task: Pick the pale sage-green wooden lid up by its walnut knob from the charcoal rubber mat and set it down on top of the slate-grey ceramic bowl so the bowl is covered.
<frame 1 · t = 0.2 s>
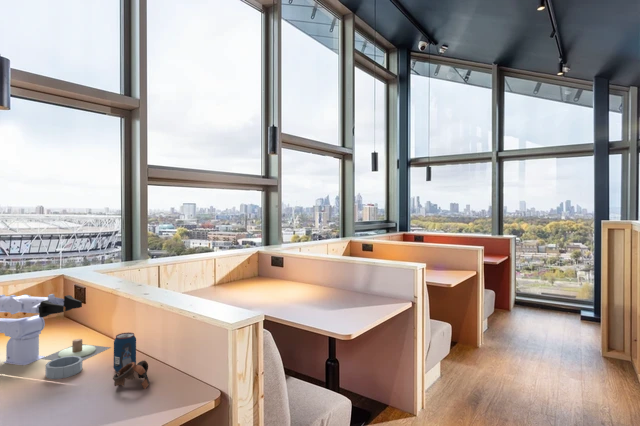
hand: (72, 306, 133), 21 cm above the table, tool horizontal, fingers open, 7 cm apart
lid: (77, 352, 144), resting on mat
mat: (77, 354, 144), on the table
soda can: (124, 370, 132), on the table
bowl: (64, 373, 128), on the table
brown lumpy object: (134, 385, 120), on the table
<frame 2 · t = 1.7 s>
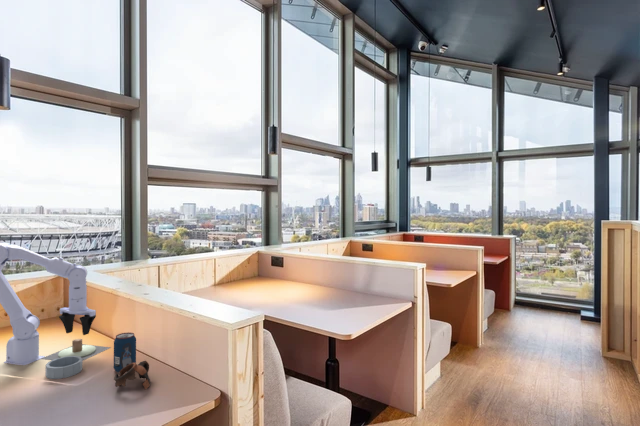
hand: (77, 333, 144), 8 cm above the table, tool pointing down, fingers open, 7 cm apart
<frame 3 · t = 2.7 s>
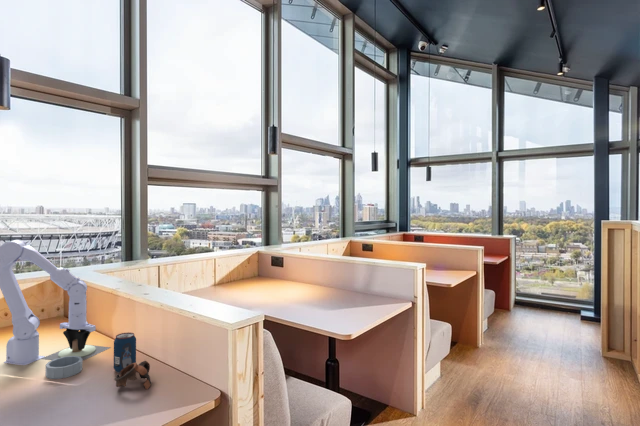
hand: (77, 348, 144), 2 cm above the table, tool pointing down, fingers closed on lid, 3 cm apart
lid: (77, 352, 144), resting on mat, touching gripper
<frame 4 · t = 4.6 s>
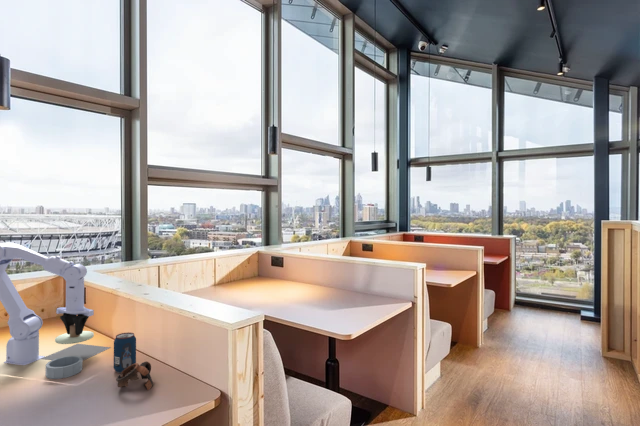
hand: (74, 333, 140), 9 cm above the table, tool pointing down, fingers closed on lid, 3 cm apart
lid: (74, 338, 140), point 7 cm above the table, touching gripper
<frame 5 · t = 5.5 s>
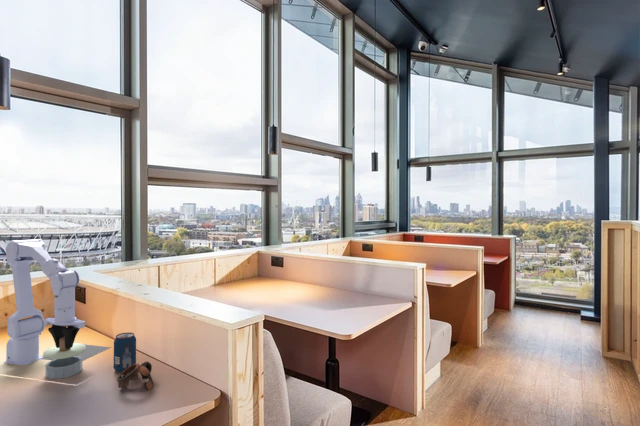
hand: (64, 347, 127), 9 cm above the table, tool pointing down, fingers closed on lid, 3 cm apart
lid: (65, 352, 128), point 7 cm above the table, touching gripper
when the fingers open (7 cm above the table, at t = 6.1 s): lid drops 1 cm, resting on bowl.
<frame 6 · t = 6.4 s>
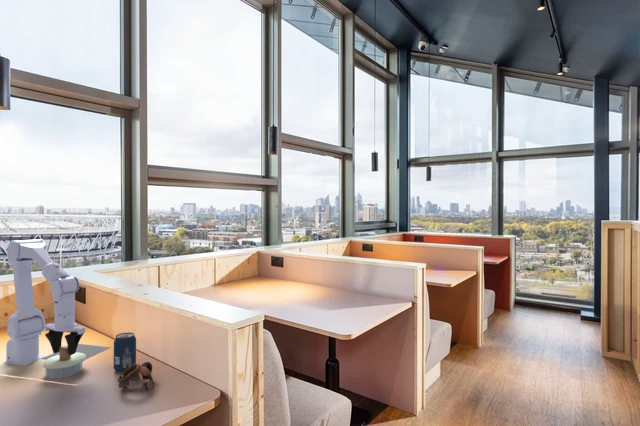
hand: (64, 353, 127), 7 cm above the table, tool pointing down, fingers open, 6 cm apart
lid: (65, 361, 128), point 4 cm above the table, touching bowl
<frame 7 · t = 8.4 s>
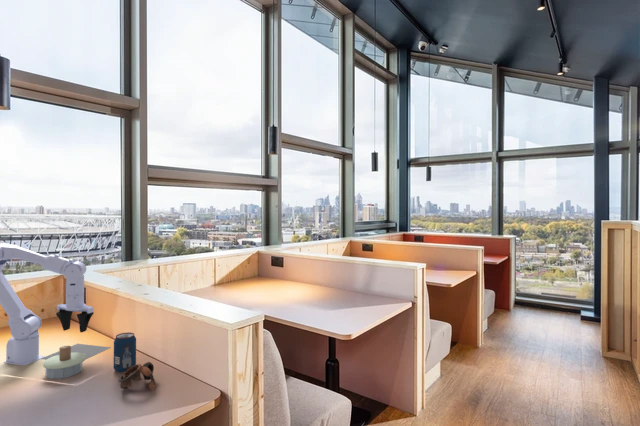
hand: (74, 330, 142), 10 cm above the table, tool pointing down, fingers open, 7 cm apart
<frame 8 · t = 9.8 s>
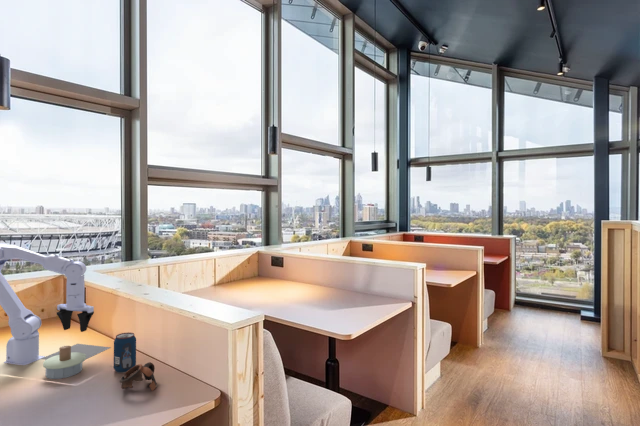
hand: (75, 330, 142), 10 cm above the table, tool pointing down, fingers open, 7 cm apart
at the end: lid 0.3 cm off-centre on the bowl, point 4.0 cm above the bowl's base; lid tilted 0°; the gripper is holding nothing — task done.
